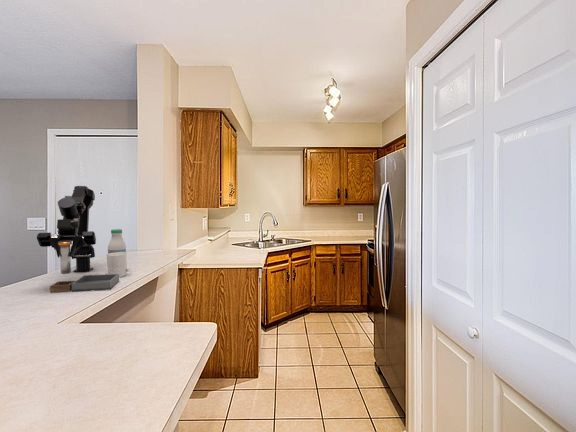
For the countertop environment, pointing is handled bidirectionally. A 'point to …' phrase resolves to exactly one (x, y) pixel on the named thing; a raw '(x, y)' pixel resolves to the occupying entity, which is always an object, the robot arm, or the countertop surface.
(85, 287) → the tray
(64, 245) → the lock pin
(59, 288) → the socket block
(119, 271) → the white cup
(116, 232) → the milk bottle
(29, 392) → the countertop surface
